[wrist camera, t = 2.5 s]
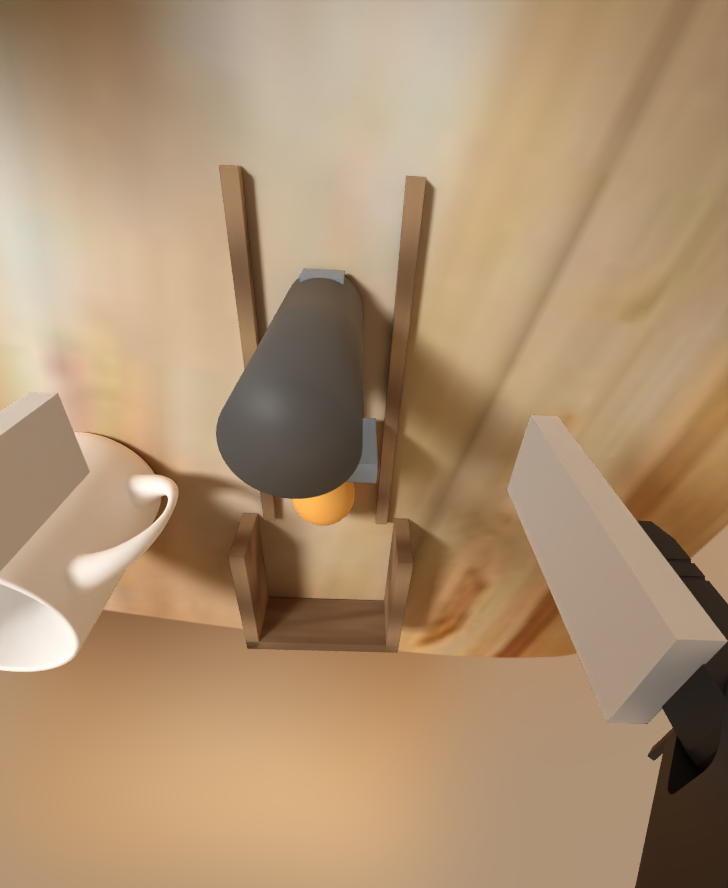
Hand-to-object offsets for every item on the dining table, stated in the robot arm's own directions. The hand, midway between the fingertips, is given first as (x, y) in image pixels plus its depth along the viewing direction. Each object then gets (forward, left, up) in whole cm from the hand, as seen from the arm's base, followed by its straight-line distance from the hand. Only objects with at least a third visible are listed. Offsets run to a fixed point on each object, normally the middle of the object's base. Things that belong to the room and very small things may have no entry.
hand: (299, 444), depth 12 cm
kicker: (+2, 0, -11) cm, 12 cm away
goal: (+20, 0, -12) cm, 23 cm away
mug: (+11, -14, -12) cm, 22 cm away
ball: (+11, 0, -10) cm, 14 cm away
